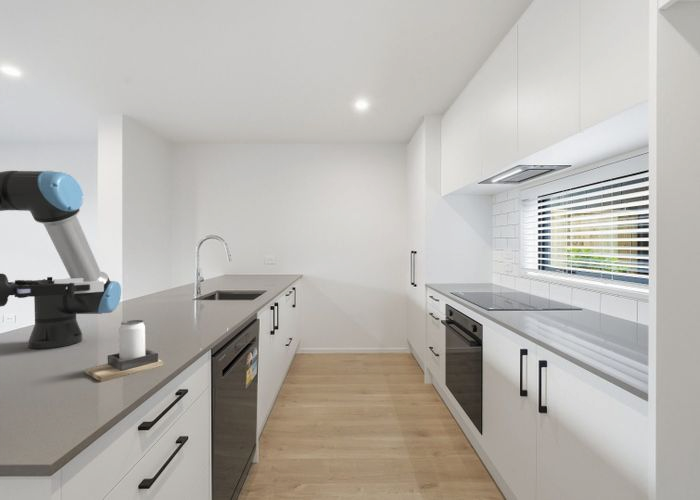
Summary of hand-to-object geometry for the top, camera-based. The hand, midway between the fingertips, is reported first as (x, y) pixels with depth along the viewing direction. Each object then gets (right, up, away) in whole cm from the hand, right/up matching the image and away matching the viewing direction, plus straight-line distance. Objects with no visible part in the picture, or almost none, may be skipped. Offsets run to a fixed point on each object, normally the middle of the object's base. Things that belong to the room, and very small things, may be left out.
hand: (92, 284), depth 97 cm
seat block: (+5, -25, +6) cm, 26 cm away
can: (+6, -24, +8) cm, 26 cm away
